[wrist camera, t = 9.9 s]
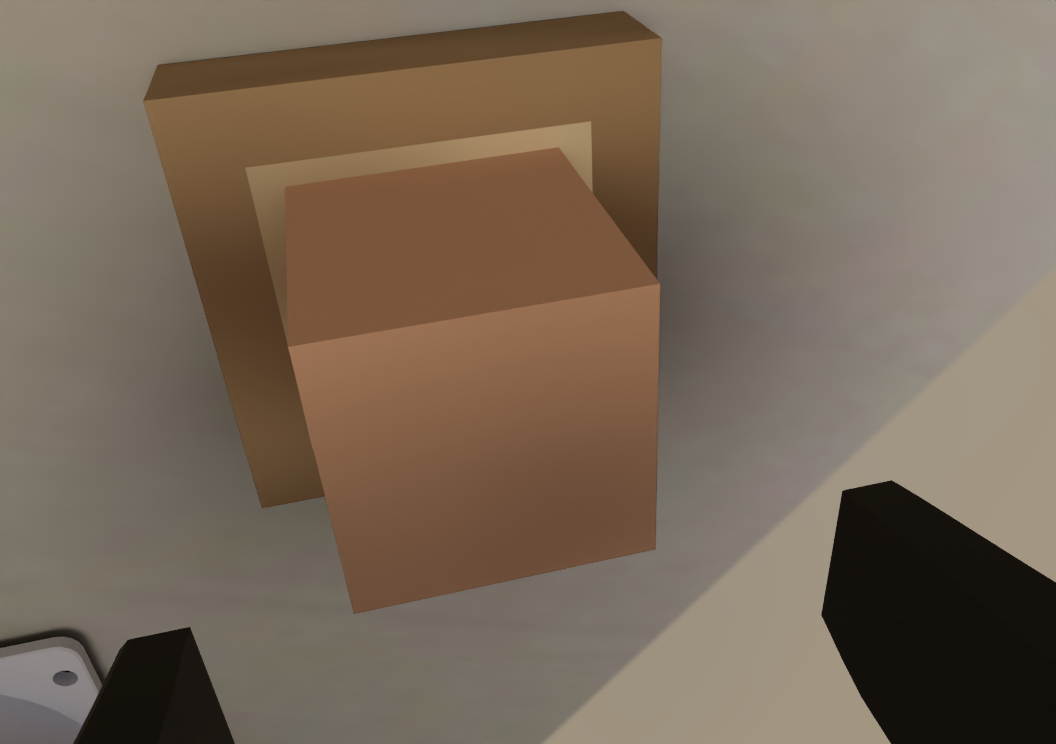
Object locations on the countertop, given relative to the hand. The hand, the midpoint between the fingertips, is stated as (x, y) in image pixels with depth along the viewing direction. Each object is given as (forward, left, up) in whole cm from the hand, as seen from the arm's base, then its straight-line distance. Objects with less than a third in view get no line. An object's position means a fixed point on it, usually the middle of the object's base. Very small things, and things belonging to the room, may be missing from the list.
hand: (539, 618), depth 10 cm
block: (0, 0, -8) cm, 8 cm away
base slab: (0, 0, -10) cm, 10 cm away
